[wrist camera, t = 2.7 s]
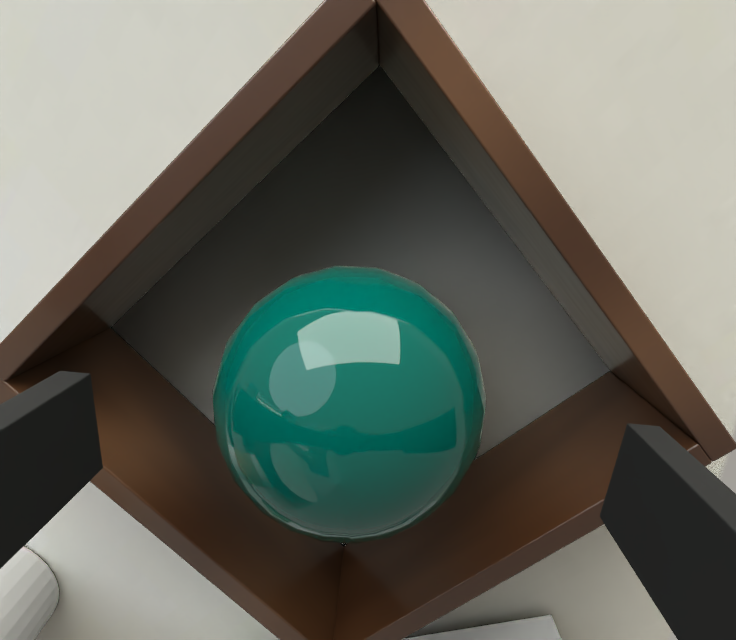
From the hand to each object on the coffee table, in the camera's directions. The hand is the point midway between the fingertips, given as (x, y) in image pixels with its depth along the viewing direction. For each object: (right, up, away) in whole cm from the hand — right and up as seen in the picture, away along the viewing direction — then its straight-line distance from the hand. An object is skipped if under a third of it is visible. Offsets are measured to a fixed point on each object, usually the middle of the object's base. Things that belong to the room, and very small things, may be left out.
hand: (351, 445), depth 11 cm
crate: (0, +2, +6) cm, 7 cm away
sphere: (0, +2, +6) cm, 7 cm away
